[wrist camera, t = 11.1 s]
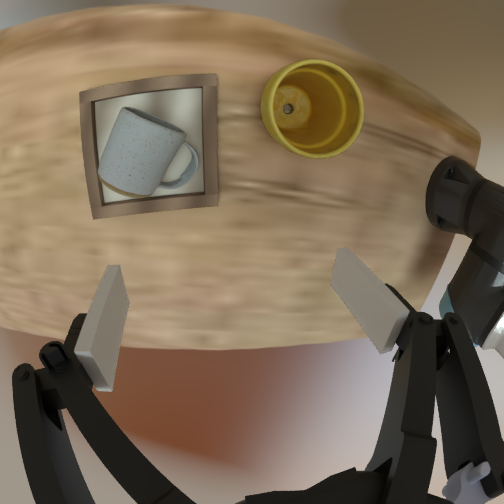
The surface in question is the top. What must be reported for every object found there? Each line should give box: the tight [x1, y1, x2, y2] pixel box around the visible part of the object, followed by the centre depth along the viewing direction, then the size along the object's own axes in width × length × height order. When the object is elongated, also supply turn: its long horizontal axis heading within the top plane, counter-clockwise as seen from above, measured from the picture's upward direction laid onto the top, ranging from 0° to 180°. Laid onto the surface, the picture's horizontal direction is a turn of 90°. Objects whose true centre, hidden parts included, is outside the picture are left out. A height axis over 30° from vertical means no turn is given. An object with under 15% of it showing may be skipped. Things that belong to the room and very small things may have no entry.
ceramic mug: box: [98, 107, 199, 198], centre depth 26 cm, size 11×8×8 cm
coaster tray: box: [79, 74, 218, 220], centre depth 29 cm, size 16×16×2 cm
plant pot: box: [261, 59, 364, 159], centre depth 27 cm, size 10×10×10 cm
